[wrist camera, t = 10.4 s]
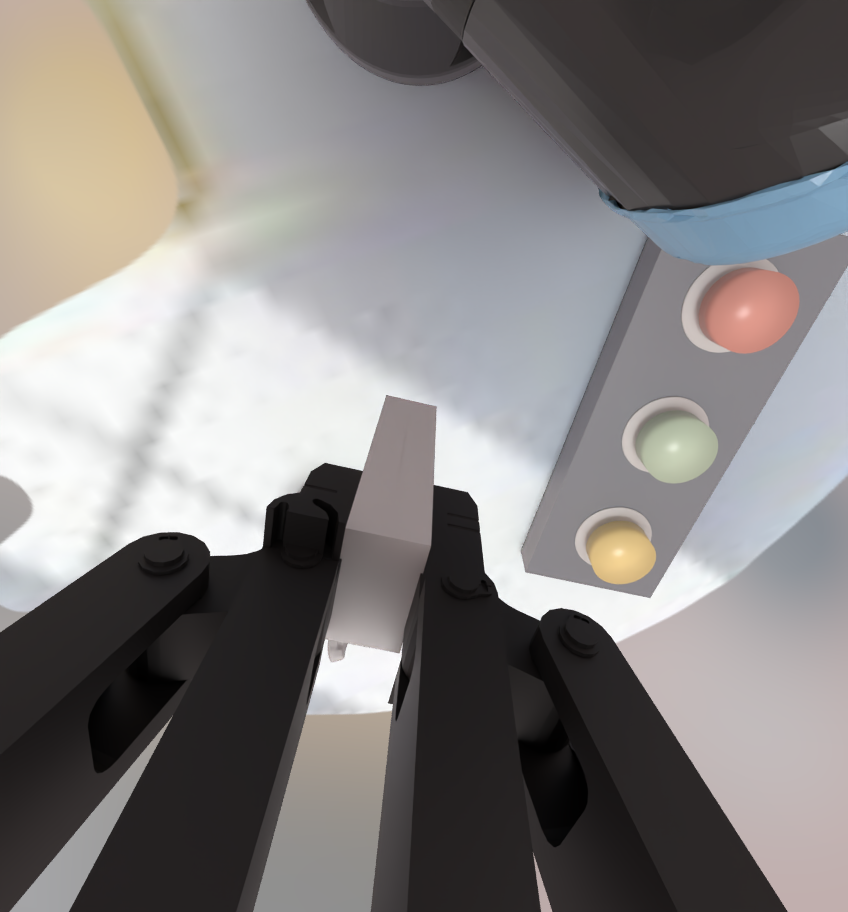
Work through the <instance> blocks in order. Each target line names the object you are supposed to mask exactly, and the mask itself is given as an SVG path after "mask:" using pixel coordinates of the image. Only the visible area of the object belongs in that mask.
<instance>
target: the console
mask: <svg viewBox="0 0 848 912" xmlns="http://www.w3.org/2000/svg"><path fill="white" fill-rule="evenodd" d="M847 266H848V236H844V235H841V234H840V235H837V236H835V237H833V238H830V239H827V240H825V241H822V242H820V243H817V244H814V245H811V246H809V247H806V248H803V249H800V250H797V251H794V252H790V253H787V254H784V255H780V256H776V257H772V258H768V259H764V260H760V261H754V262H749V263H743V264H734V265H713V266H712V265H704V264H701V263H694V262H691V261H689V260H686V259H679V258H675V257H673V256H672V255H670V254H668V253H666V252H665V251H663V250H662V249H661V248H660V247H659V246H657V245H656V244H655V243H654V242H653V241H652V240H651V239H650V238H649V237H648V238H647V241H646V243H645V246H644V248H643V251H642V253H641V256H640V258H639V261H638V263H637V266H636V268H635V271H634V273H633V276H632V278H631V280H630V283H629V285H628V288H627V290H626V293H625V295H624V298H623V300H622V303H621V305H620V308H619V310H618V313H617V315H616V318H615V320H614V322H613V325H612V327H611V330H610V332H609V335H608V337H607V340H606V342H605V345H604V347H603V350H602V352H601V355H600V357H599V360H598V362H597V364H596V367H595V369H594V372H593V374H592V377H591V379H590V382H589V384H588V387H587V389H586V392H585V394H584V397H583V399H582V402H581V404H580V406H579V409H578V411H577V414H576V416H575V419H574V421H573V424H572V426H571V429H570V431H569V434H568V436H567V439H566V441H565V444H564V446H563V448H562V451H561V453H560V456H559V458H558V461H557V463H556V466H555V468H554V471H553V473H552V476H551V478H550V481H549V483H548V486H547V488H546V490H545V493H544V495H543V498H542V500H541V503H540V505H539V508H538V510H537V513H536V515H535V518H534V520H533V523H532V525H531V528H530V530H529V532H528V535H527V537H526V540H525V542H524V545H523V547H522V550H521V554H522V558H523V563H524V567H525V572H527V573H532V574H537V575H542V576H546V577H551V578H556V579H561V580H566V581H571V582H576V583H580V584H585V585H590V586H595V587H600V588H605V589H609V590H614V591H619V592H624V593H629V594H634V595H638V596H643V597H648V598H650V597H651V596H652V594H653V592H654V591H655V589H656V587H657V586H658V584H659V582H660V581H661V579H662V577H663V576H664V574H665V572H666V571H667V569H668V567H669V566H670V564H671V562H672V560H673V559H674V557H675V555H676V554H677V552H678V550H679V549H680V547H681V545H682V544H683V542H684V540H685V539H686V537H687V535H688V534H689V532H690V530H691V529H692V527H693V525H694V523H695V522H696V520H697V518H698V517H699V515H700V513H701V512H702V510H703V508H704V507H705V505H706V503H707V502H708V500H709V498H710V497H711V495H712V493H713V491H714V490H715V488H716V486H717V485H718V483H719V481H720V480H721V478H722V476H723V475H724V473H725V471H726V470H727V468H728V466H729V465H730V463H731V461H732V460H733V458H734V456H735V454H736V453H737V451H738V449H739V448H740V446H741V444H742V443H743V441H744V439H745V438H746V436H747V434H748V433H749V431H750V429H751V428H752V426H753V424H754V423H755V421H756V419H757V417H758V416H759V414H760V412H761V411H762V409H763V407H764V406H765V404H766V402H767V401H768V399H769V397H770V396H771V394H772V392H773V391H774V389H775V387H776V385H777V384H778V382H779V380H780V379H781V377H782V375H783V374H784V372H785V370H786V369H787V367H788V365H789V364H790V362H791V360H792V359H793V357H794V355H795V354H796V352H797V350H798V348H799V347H800V345H801V343H802V342H803V340H804V338H805V337H806V335H807V333H808V332H809V330H810V328H811V327H812V325H813V323H814V322H815V320H816V318H817V317H818V315H819V313H820V311H821V310H822V308H823V306H824V305H825V303H826V301H827V300H828V298H829V296H830V295H831V293H832V291H833V290H834V288H835V286H836V285H837V283H838V281H839V279H840V278H841V276H842V274H843V273H844V271H845V269H846V268H847ZM748 267H751V268H759V269H764V270H769V271H774V272H779V273H782V274H784V275H786V276H788V277H789V278H790V279H791V280H792V281H793V282H794V283H795V285H796V287H797V289H798V292H799V309H798V313H797V316H796V318H795V320H794V322H793V324H792V326H791V327H790V329H789V330H788V331H787V332H786V334H785V335H784V336H783V337H782V338H780V339H779V340H778V341H777V342H775V343H774V344H773V345H771V346H769V347H767V348H765V349H763V350H761V351H757V352H753V353H746V354H744V353H735V352H732V351H730V350H728V349H726V348H724V347H722V346H720V345H718V344H716V343H714V342H712V341H710V340H709V339H708V338H707V337H706V336H705V335H704V334H703V332H702V330H701V328H700V325H699V309H700V305H701V303H702V300H703V298H704V296H705V294H706V293H707V291H708V290H709V289H710V287H711V286H712V285H713V284H714V283H715V282H716V281H717V280H719V279H720V278H721V277H723V276H724V275H726V274H727V273H730V272H732V271H734V270H737V269H741V268H748ZM673 410H681V411H686V412H689V413H692V414H693V415H695V416H696V417H698V418H699V419H700V420H701V421H702V422H704V423H705V424H706V425H707V426H708V427H710V428H711V429H712V430H713V432H714V433H715V435H716V437H717V440H718V452H717V455H716V458H715V460H714V461H713V463H712V464H711V466H710V467H709V468H708V469H707V470H706V471H705V472H704V473H702V474H701V475H700V476H698V477H696V478H694V479H692V480H690V481H687V482H683V483H675V484H674V483H665V482H662V481H659V480H657V479H656V478H654V477H653V476H652V475H651V474H650V473H649V471H648V470H647V469H646V468H645V466H644V465H643V464H642V462H641V461H640V460H639V458H638V456H637V454H636V449H635V444H636V439H637V436H638V434H639V432H640V430H641V429H642V427H643V426H644V425H645V424H646V423H647V422H648V421H649V420H651V419H652V418H653V417H655V416H657V415H659V414H661V413H664V412H667V411H673ZM613 521H629V522H632V523H635V524H636V525H638V526H639V527H641V528H642V529H643V531H644V532H645V534H646V535H647V537H648V539H649V540H650V542H651V544H652V545H653V547H654V549H655V551H656V561H655V564H654V566H653V568H652V569H651V570H650V572H649V573H648V574H646V575H645V576H644V577H643V578H641V579H639V580H637V581H634V582H632V583H628V584H611V583H608V582H605V581H603V580H602V579H600V578H599V577H598V576H597V575H596V574H595V572H594V570H593V567H592V565H591V563H590V560H589V558H588V555H587V552H586V544H587V541H588V538H589V537H590V535H591V534H592V533H593V532H594V531H595V530H596V529H597V528H599V527H600V526H602V525H604V524H606V523H609V522H613Z"/></svg>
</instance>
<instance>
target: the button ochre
mask: <svg viewBox="0 0 848 912" xmlns="http://www.w3.org/2000/svg"><path fill="white" fill-rule="evenodd" d="M586 552H587V555H588V558H589V560H590V563H591V565H592V567H593V570H594V572H595V574H596V575H597V576H598V577H599V578H600V579H602V580H603V581H605V582H608V583H611V584H628V583H632V582H634V581H637V580H639V579H641V578H643V577H644V576H645V575H646V574H648V573H649V572H650V570H651V569H652V568H653V566H654V564H655V561H656V551H655V549H654V547H653V545H652V544H651V542H650V540H649V539H648V537H647V535H646V534H645V532H644V531H643V529H642V528H641V527H639V526H638V525H636V524H635V523H632V522H629V521H613V522H609V523H606V524H604V525H602V526H600V527H599V528H597V529H596V530H595V531H594V532H593V533H592V534H591V535H590V537H589V538H588V541H587V544H586Z"/></svg>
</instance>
